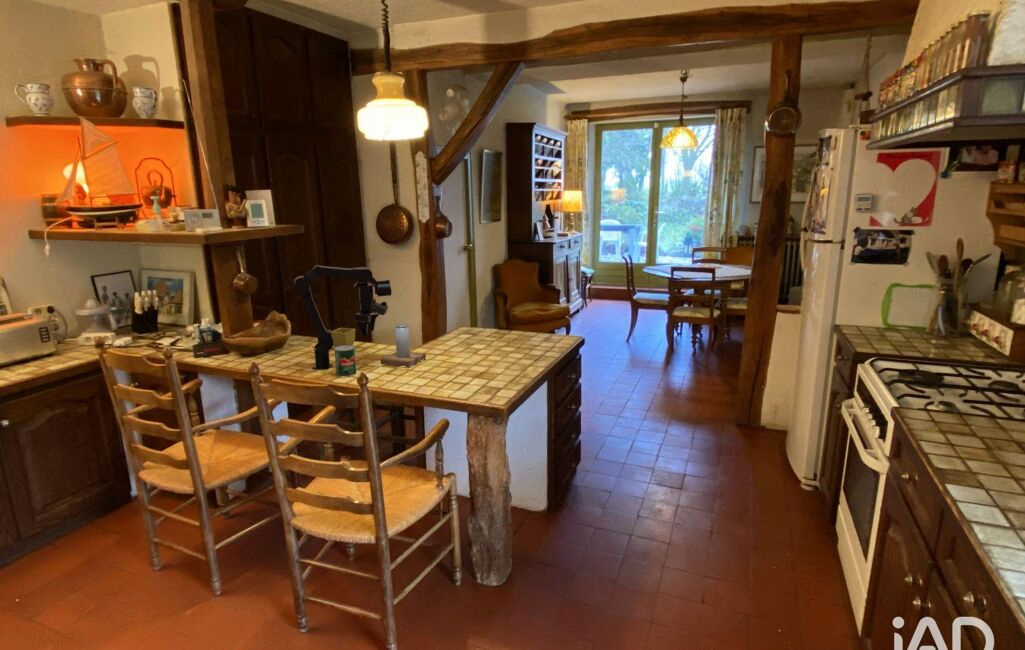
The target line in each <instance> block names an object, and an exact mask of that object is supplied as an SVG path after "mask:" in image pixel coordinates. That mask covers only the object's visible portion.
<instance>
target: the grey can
mask: <svg viewBox="0 0 1025 650" xmlns="http://www.w3.org/2000/svg"><path fill="white" fill-rule="evenodd" d="M394 331H395V348H396V350H395V352H396V353H397V357H398V358H407V357H409V356H410V352H411V351H410V330H409V325H408V324H407V323H399V324H396V325H395V327H394Z"/></svg>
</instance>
